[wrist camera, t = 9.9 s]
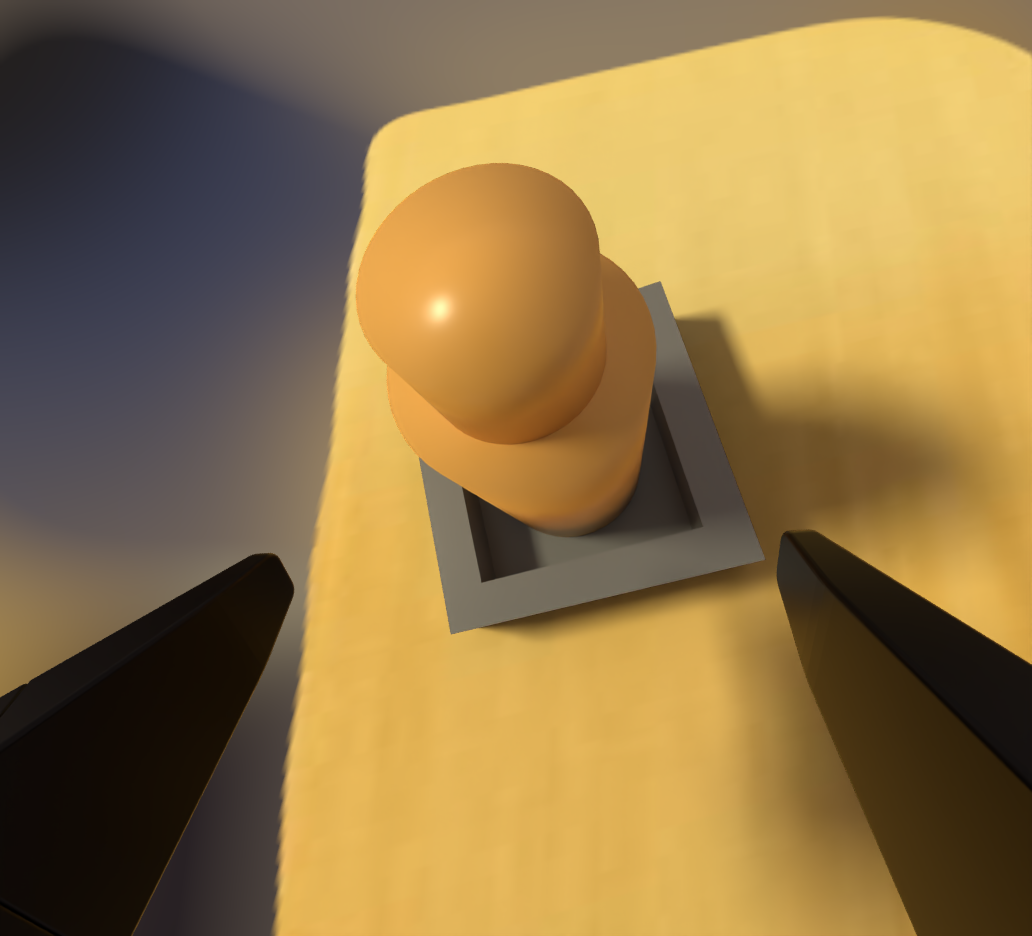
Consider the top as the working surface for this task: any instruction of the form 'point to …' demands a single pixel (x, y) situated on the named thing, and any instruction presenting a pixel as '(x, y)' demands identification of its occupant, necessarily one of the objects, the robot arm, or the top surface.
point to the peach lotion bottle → (512, 345)
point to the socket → (622, 543)
